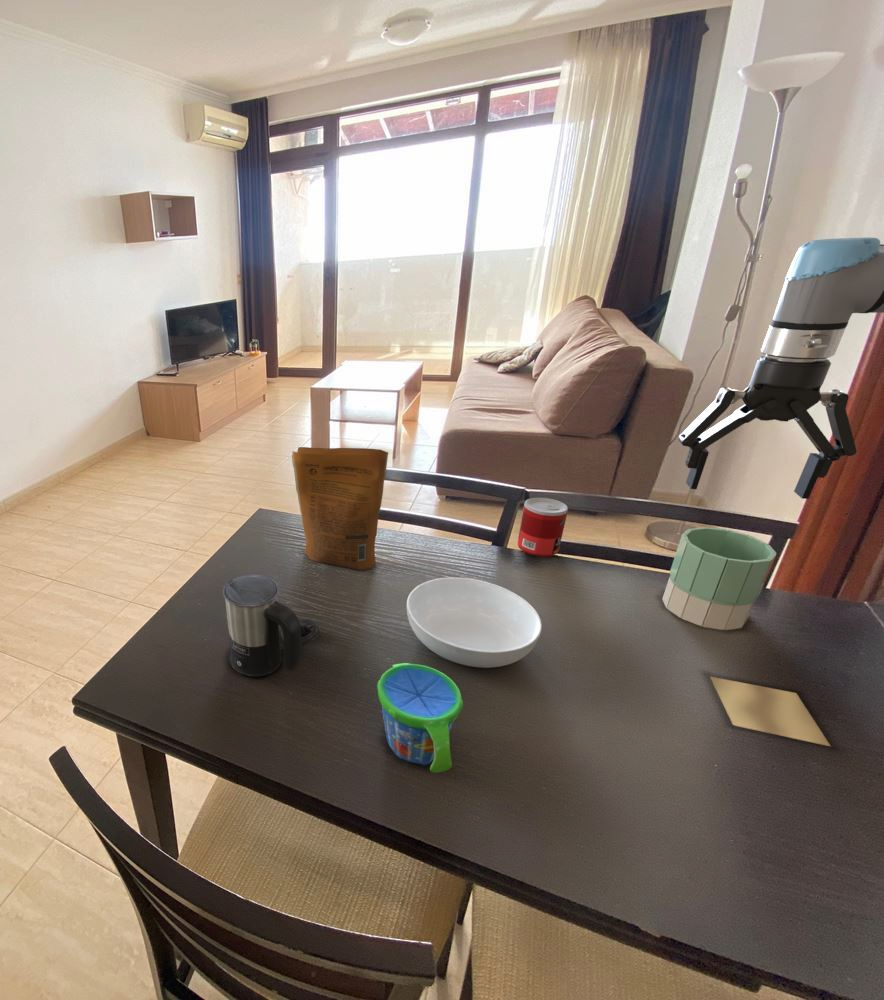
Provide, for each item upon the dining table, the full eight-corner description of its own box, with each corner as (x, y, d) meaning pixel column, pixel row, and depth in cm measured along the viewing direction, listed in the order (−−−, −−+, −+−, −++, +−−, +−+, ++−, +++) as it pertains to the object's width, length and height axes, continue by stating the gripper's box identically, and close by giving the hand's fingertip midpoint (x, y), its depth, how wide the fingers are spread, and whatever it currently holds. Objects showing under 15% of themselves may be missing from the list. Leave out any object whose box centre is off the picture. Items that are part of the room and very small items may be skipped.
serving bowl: (565, 666, 87) (573, 632, 84) (455, 700, 83) (460, 666, 80) (475, 596, 105) (480, 566, 103) (381, 621, 101) (383, 591, 98)
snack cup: (364, 703, 84) (366, 652, 79) (432, 700, 83) (439, 649, 79) (390, 795, 69) (395, 739, 65) (473, 793, 69) (484, 736, 65)
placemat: (795, 694, 79) (796, 692, 78) (830, 749, 71) (831, 746, 70) (708, 678, 83) (709, 676, 82) (731, 727, 75) (732, 725, 74)
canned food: (561, 560, 114) (572, 514, 109) (519, 556, 117) (527, 511, 112) (554, 542, 121) (563, 498, 116) (514, 539, 123) (522, 496, 119)
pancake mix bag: (378, 578, 113) (385, 454, 101) (292, 562, 122) (290, 445, 110) (384, 562, 119) (392, 443, 107) (302, 547, 127) (301, 435, 115)
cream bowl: (731, 599, 99) (741, 574, 96) (755, 637, 90) (767, 610, 87) (656, 588, 103) (663, 564, 101) (671, 623, 94) (680, 597, 92)
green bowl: (736, 587, 98) (758, 532, 93) (762, 626, 88) (788, 567, 83) (657, 576, 102) (675, 523, 98) (674, 612, 93) (694, 555, 88)
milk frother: (220, 670, 93) (213, 599, 86) (253, 616, 105) (249, 551, 99) (300, 691, 87) (298, 617, 80) (325, 631, 100) (325, 563, 93)
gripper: (693, 361, 79) (654, 491, 89) (937, 363, 69) (865, 510, 78) (679, 351, 86) (644, 474, 95) (901, 352, 75) (838, 489, 85)
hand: (744, 490), depth 87 cm, fingers open, 13 cm apart
